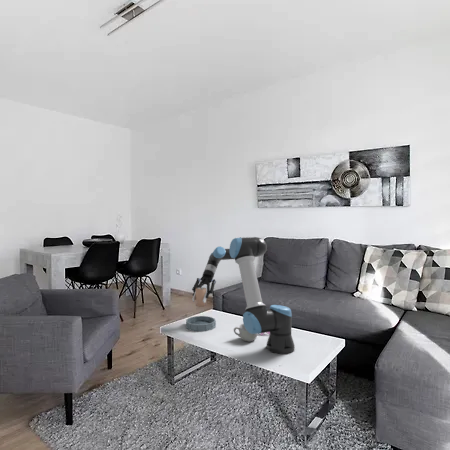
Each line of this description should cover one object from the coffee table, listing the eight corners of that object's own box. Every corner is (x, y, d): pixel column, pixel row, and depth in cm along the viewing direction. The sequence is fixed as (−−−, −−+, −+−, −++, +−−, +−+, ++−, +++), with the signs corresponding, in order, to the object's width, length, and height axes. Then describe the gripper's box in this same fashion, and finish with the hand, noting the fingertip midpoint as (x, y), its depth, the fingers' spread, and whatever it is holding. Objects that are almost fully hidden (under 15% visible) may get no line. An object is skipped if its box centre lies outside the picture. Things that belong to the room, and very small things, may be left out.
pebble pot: (208, 304, 226) (208, 287, 225) (203, 307, 219) (203, 289, 219) (198, 303, 228) (198, 286, 228) (193, 306, 222) (193, 288, 222)
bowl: (219, 323, 229) (219, 318, 229) (207, 332, 212) (207, 326, 212) (194, 320, 237) (194, 314, 236) (180, 328, 219) (180, 322, 219)
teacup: (257, 336, 205) (257, 323, 205) (257, 343, 194) (257, 329, 194) (234, 336, 207) (234, 322, 206) (233, 342, 196) (233, 328, 195)
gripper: (224, 276, 234) (214, 306, 219) (198, 274, 241) (186, 302, 227) (221, 270, 229) (210, 299, 214) (194, 268, 236) (182, 296, 222)
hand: (198, 301), depth 220 cm, fingers closed on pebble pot, 7 cm apart
